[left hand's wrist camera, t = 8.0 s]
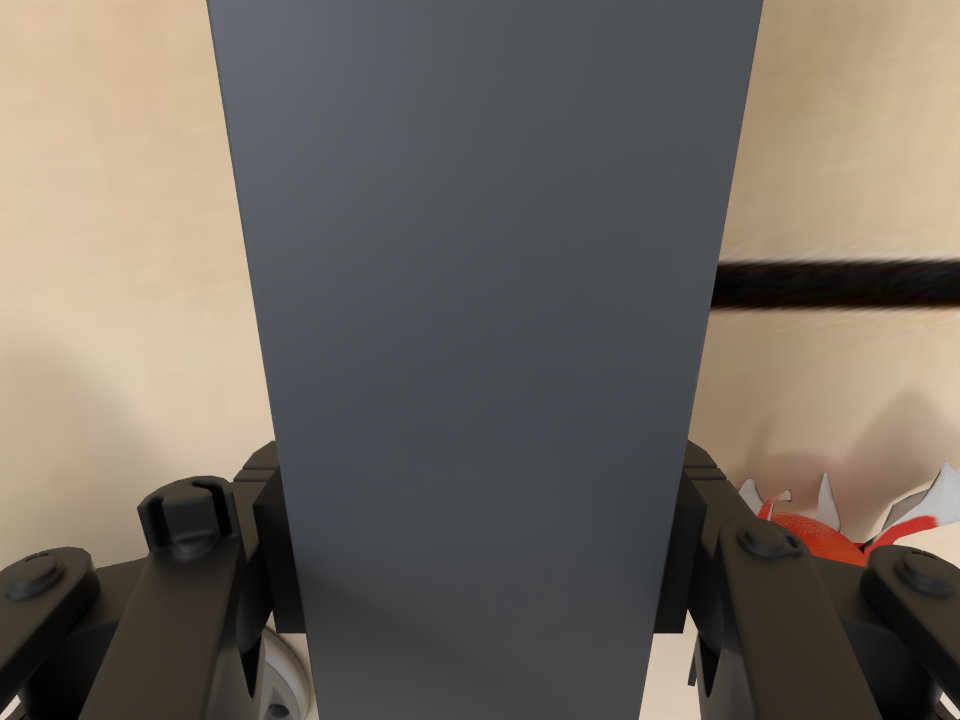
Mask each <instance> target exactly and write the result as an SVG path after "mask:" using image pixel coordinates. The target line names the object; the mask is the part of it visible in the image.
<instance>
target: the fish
mask: <svg viewBox="0 0 960 720" xmlns="http://www.w3.org/2000/svg"><path fill="white" fill-rule="evenodd" d="M738 493H739V494H740V495H741V497H742V498H743V499H744V501H745V502H746V503H747V505H748V506H749V507H750V508H751V510H752V511H753V512H754V514H755V515H756V516H757V517H758V518H761V519H765V520H769V521H772V522H775V523H777V524H779V525H781V526H783V527H785V528H787V529H789V530H790V531H792V532H793V533H794V534H796V535H797V536H798V537H799V538H801V539H802V540H803V541H804V543H805V544H806V545H807V547H808V548H809V550H810V551H811V553H812V555H815V556H818V557H822V558H826V559H831V560H836V561H840V562H845V563H850V564H854V565H859V566H864V567H865V565H866V562H867V559H868V556H869V554H870V552H871V551H872V550H874V549H875V548H876V547H878V546H883V545H892V544H893V543H894V541H895V540H897V539H898V538H900V537H903V536H906V535H910V534H913V533H916V532H919V531H923V530H928V529H932V528H935V527H939V526H942V525H946V524H950V523H954V522H957V521H960V472H959V471H957V470H956V469H955V468H954V467H952V466H951V465H950V464H949V463H947V462H946V461H945V462H944V464H943V466H942V468H941V470H940V472H939V474H938V476H937V478H936V479H935V481H934V482H933V484H932V485H931V487H930V488H929V489H928V490H925V491H922V492H919V493H917V494H914V495H911V496H909V497H907V498H905V499H903V500H901V501H900V502H898V503H896V504H894V505H893V506H892V508H891V510H890V513H889V515H888V517H887V519H886V521H885V523H884V526H883V528H882V531H881V533H879V534H878V535H876V536H875V537H873V538H872V539H871V540H869V541H868V542H866V543H852V542H851V541H849V540H848V539H847V538H846V537H845V536H843V535H842V534H841V533H839V532H840V528H841V523H840V518H839V514H838V511H837V508H836V505H835V501H834V498H833V494H832V490H831V486H830V481H829V477H828V474H827V473H824V475H823V480H822V484H821V487H820V491H819V497H818V512H817V518H816V520H813V519H810V518H807V517H803V516H800V515H796V514H791V513H782V512H773V506H774V502H779V501H784V500H785V501H789V502H791V500H792V495H791V491H790V490H786V491H784V492H782V493H781V494H778V495H775V496H773V497H772V498H770V499H769V500H768V501H767V502H766V503H764V502H763V500H762V499H761V497H760V495H759V493H758V491H757V488H756V485H755V482H754V480H753V479H747V480H746V481H745V482H744V484H743V485H742V487H741V489H740V490H739V492H738Z"/></svg>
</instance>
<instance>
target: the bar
mask: <svg viewBox="0 0 960 720" xmlns="http://www.w3.org/2000/svg"><path fill="white" fill-rule="evenodd" d="M206 2H207V8H208V14H209V21H210V27H211V33H212V40H213V46H214V52H215V59H216V65H217V71H218V78H219V84H220V90H221V97H222V103H223V110H224V116H225V122H226V129H227V135H228V141H229V148H230V154H231V160H232V167H233V173H234V179H235V186H236V192H237V199H238V205H239V211H240V218H241V224H242V230H243V237H244V243H245V249H246V256H247V262H248V268H249V275H250V281H251V288H252V294H253V300H254V307H255V313H256V319H257V326H258V332H259V338H260V345H261V351H262V357H263V364H264V370H265V376H266V383H267V389H268V396H269V402H270V408H271V415H272V421H273V427H274V434H275V440H276V446H277V453H278V459H279V465H280V472H281V478H282V485H283V491H284V497H285V504H286V510H287V516H288V523H289V529H290V535H291V542H292V548H293V554H294V561H295V567H296V574H297V580H298V586H299V593H300V599H301V605H302V612H303V618H304V624H305V631H306V637H307V643H308V650H309V656H310V662H311V669H312V675H313V682H314V688H315V694H316V701H317V707H318V713H319V720H639V715H640V709H641V703H642V698H643V692H644V686H645V680H646V674H647V669H648V663H649V657H650V651H651V646H652V640H653V634H654V628H655V623H656V617H657V611H658V605H659V599H660V594H661V588H662V582H663V576H664V571H665V565H666V559H667V553H668V548H669V542H670V536H671V530H672V524H673V519H674V513H675V507H676V501H677V496H678V490H679V484H680V478H681V473H682V467H683V461H684V455H685V449H686V444H687V438H688V432H689V426H690V421H691V415H692V409H693V403H694V398H695V392H696V386H697V380H698V374H699V369H700V363H701V357H702V351H703V346H704V340H705V334H706V328H707V323H708V317H709V311H710V305H711V299H712V294H713V288H714V282H715V276H716V271H717V265H718V259H719V253H720V248H721V242H722V236H723V230H724V224H725V219H726V213H727V207H728V201H729V196H730V190H731V184H732V178H733V173H734V167H735V161H736V155H737V149H738V144H739V138H740V132H741V126H742V121H743V115H744V109H745V103H746V98H747V92H748V86H749V80H750V74H751V69H752V63H753V57H754V51H755V46H756V40H757V34H758V28H759V22H760V17H761V11H762V5H763V0H206Z"/></svg>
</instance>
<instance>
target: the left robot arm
mask: <svg viewBox="0 0 960 720" xmlns="http://www.w3.org/2000/svg"><path fill="white" fill-rule="evenodd" d="M233 480H234V481H233V482H231V483H229V482H228V481H227V480H225V479H224V478H220V477H215V476H195V477H190V478H186V479H182V480H178V481H175V482H173V483H170V484H168V485H165V486H163V487H161V488H159V489H157V490H156V491H154V492H153V493H151V494H150V495H148V496H147V497H146V498H145V499H144V500H143V501H142V502H141V503H140V505H139V506H138V507H137V510H138V513H139V517H140V520H141V524H142V527H143V531H144V534H145V537H146V541H147V544H148V548H149V551H150V552H149V554H148V557H146V558H142V559H139V560H134V561H130V562H125V563H121V564H116V565H111V566H107V567H102V568H97V569H95V567H94V564H93V561H92V558H91V555H90V554H89V553H88V552H86V551H85V550H84V549H82V548H74V547H63V548H56V549H49V550H46V551H42V552H39V553H35V554H33V555H30V556H27V557H25V558H24V559H22V560H20V561H18V562H16V563H14V564H12V565H10V566H8V567H6V568H5V569H4V570H2V571H1V572H0V714H1V713H2V712H3V711H4V710H5V708H6V707H7V706H8V705H9V703H10V702H11V701H12V700H13V699H14V697H15V696H16V695H17V694H18V697H19V699H20V701H21V702H20V704H19V705H18V706H17V707H16V709H15V710H14V711H13V712H12V713H11V714H10V715H9V716H8V717H7V718H6V719H5V720H304V719H305V716H306V713H307V710H308V706H309V698H310V692H309V685H308V680H307V677H306V674H305V672H304V670H303V668H302V666H301V664H300V662H299V661H298V659H297V658H296V656H295V655H294V654H293V653H292V651H291V650H290V649H289V648H288V647H287V646H286V645H285V644H284V643H283V642H282V641H281V640H280V639H279V638H277V637H276V636H275V635H273V634H272V633H271V632H270V631H268V630H266V629H265V628H264V627H265V625H266V622H267V620H268V618H269V616H270V614H271V612H272V611H273V616H274V622H275V627H276V632H277V633H306V631H305V624H304V618H303V612H302V605H301V599H300V593H299V586H298V580H297V574H296V567H295V561H294V554H293V548H292V542H291V535H290V529H289V523H288V516H287V510H286V504H285V497H284V491H283V485H282V478H281V472H280V465H279V459H278V453H277V446H276V441H271V442H270V443H268V444H267V445H265V446H264V447H262V448H261V449H259V450H257V451H256V452H254V453H253V454H252V456H251V457H250V458H249V460H248V461H247V462H246V464H245V465H244V466H243V469H242V470H240V471H239V473H238V474H237V475H236V476H235V478H234V479H233ZM687 609H688V610H689V612H690V614H691V616H692V619H693V621H694V623H695V625H696V627H697V629H698V634H697V639H696V644H695V649H694V653H693V658H692V663H691V668H690V673H689V679H688V685H690V686H694V687H695V682H696V677H697V684H698V693H699V703H700V713H701V720H958V719H956V718H955V717H954V716H953V715H952V714H951V713H950V712H949V711H948V710H947V708H946V707H945V706H944V705H943V704H942V702H941V701H940V700H939V699H940V697H941V695H942V693H943V692H944V693H945V694H946V695H947V696H948V698H949V699H950V700H951V701H952V703H953V704H954V705H955V706H956V707H957V709H958V710H959V711H960V569H959V568H957V567H956V566H955V565H953V564H951V563H949V562H947V561H945V560H943V559H941V558H939V557H937V556H936V555H934V554H931V553H929V552H926V551H921V550H920V549H916V548H912V547H907V546H900V545H893V544H892V545H883V546H878V547H876V548H875V549H874V550H872V551H871V552H870V554H869V556H868V559H867V562H866V565H865V567H864V566H859V565H854V564H850V563H845V562H840V561H836V560H831V559H826V558H822V557H818V556H815V555H812V553H811V551H810V550H809V548H808V547H807V545H806V544H805V543H804V541H803V540H802V539H801V538H799V537H798V536H797V535H796V534H794V533H793V532H792V531H790V530H789V529H787V528H785V527H783V526H781V525H779V524H777V523H775V522H772V521H769V520H765V519H761V518H758V517H757V516H756V515H755V514H754V512H753V511H752V510H751V508H750V507H749V506H748V505H747V503H746V502H745V501H744V499H743V498H742V497H741V495H740V494H739V493H738V492H737V490H736V489H735V488H734V486H733V485H732V484H731V483H730V481H729V480H726V476H725V475H724V474H723V472H722V471H721V470H720V468H717V465H716V463H715V462H714V461H713V459H712V458H711V457H710V456H709V454H708V453H707V452H706V451H705V450H703V449H702V448H700V447H699V446H697V445H696V444H694V443H693V442H691V441H690V440H688V439H687V444H686V449H685V455H684V461H683V467H682V473H681V478H680V484H679V490H678V496H677V501H676V507H675V513H674V519H673V524H672V530H671V536H670V542H669V548H668V553H667V559H666V565H665V571H664V576H663V582H662V588H661V594H660V599H659V605H658V611H657V617H656V623H655V628H654V633H683V630H684V624H685V619H686V614H687ZM959 720H960V719H959Z"/></svg>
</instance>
